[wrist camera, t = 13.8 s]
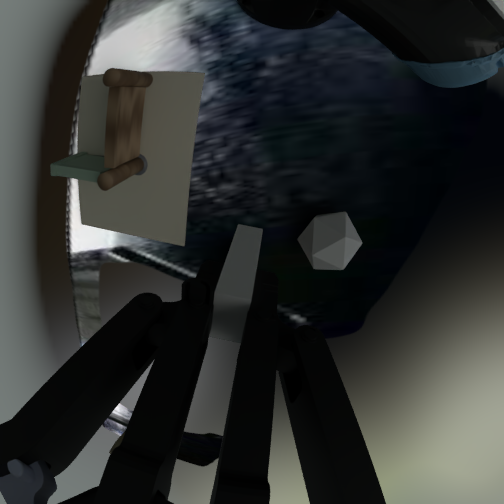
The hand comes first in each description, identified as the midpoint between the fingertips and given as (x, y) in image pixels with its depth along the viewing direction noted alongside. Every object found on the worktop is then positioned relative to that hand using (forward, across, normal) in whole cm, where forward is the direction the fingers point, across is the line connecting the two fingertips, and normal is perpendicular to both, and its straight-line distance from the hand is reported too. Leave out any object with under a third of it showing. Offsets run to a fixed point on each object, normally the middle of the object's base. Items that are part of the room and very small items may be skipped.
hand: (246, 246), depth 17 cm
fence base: (+24, -20, +4) cm, 32 cm away
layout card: (+24, -22, -2) cm, 33 cm away
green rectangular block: (+24, -27, -3) cm, 36 cm away
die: (+25, +11, -8) cm, 28 cm away
